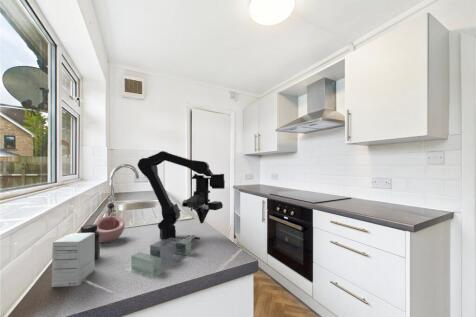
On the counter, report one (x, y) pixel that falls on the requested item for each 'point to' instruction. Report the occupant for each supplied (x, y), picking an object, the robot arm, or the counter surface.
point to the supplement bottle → (92, 229)
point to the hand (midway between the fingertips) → (201, 223)
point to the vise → (152, 264)
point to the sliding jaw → (183, 244)
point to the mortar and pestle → (110, 228)
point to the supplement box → (72, 259)
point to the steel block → (162, 250)
